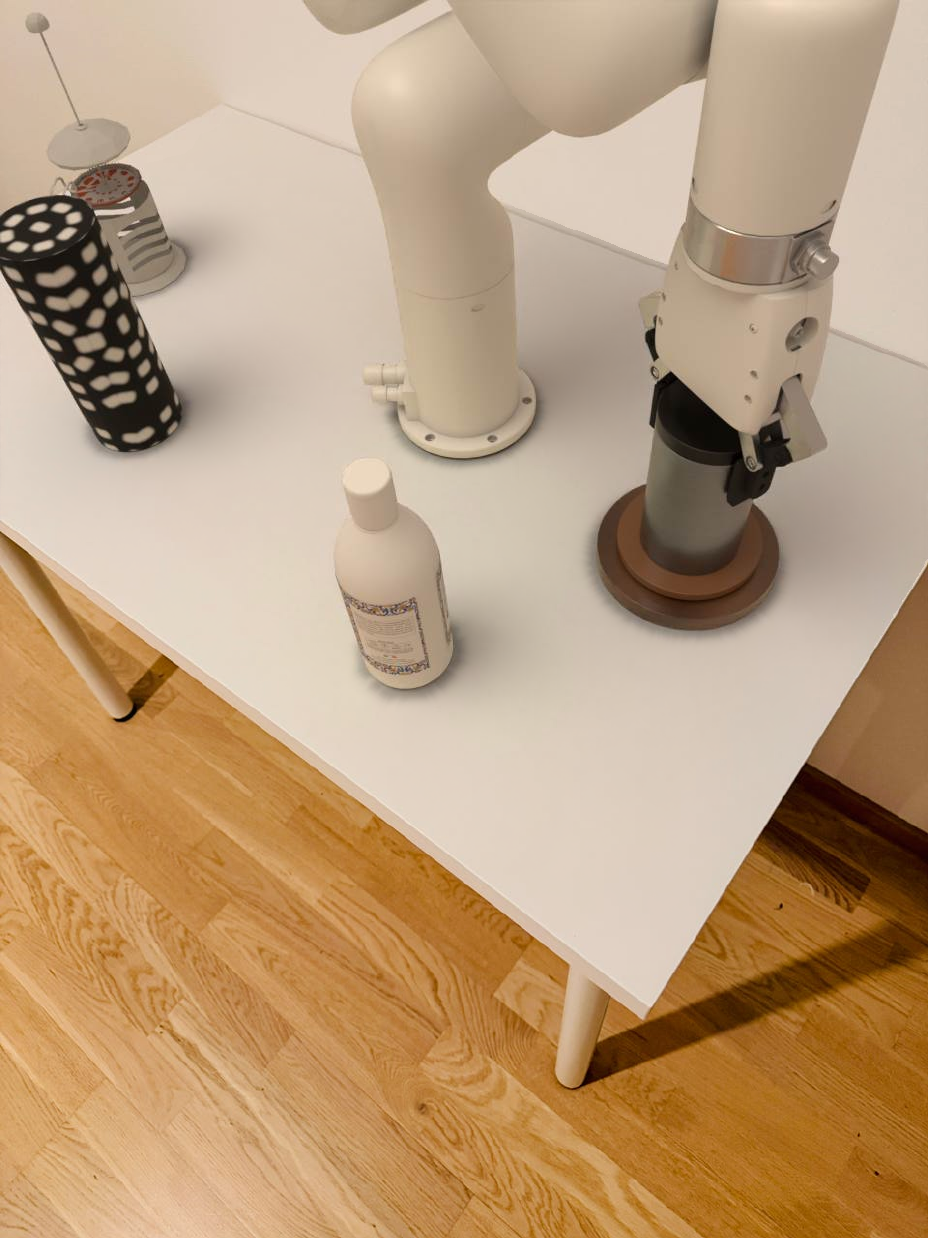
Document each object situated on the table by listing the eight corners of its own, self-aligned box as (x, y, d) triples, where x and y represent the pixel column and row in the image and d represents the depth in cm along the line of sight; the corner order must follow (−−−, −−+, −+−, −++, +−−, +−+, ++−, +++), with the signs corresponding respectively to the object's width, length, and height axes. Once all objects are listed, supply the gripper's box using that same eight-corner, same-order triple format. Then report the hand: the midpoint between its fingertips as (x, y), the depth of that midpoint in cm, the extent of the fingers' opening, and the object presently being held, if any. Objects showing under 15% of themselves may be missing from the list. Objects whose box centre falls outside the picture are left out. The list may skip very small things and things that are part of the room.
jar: (587, 535, 72) (596, 403, 60) (696, 463, 75) (725, 325, 63) (685, 626, 66) (716, 501, 55) (798, 544, 70) (850, 410, 58)
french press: (204, 254, 99) (113, -2, 78) (131, 317, 94) (12, 61, 73) (140, 230, 102) (36, -22, 81) (65, 289, 97) (-66, 37, 76)
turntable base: (594, 626, 69) (595, 615, 68) (597, 487, 77) (598, 475, 75) (783, 634, 67) (788, 623, 66) (768, 491, 75) (771, 479, 74)
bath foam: (405, 598, 72) (364, 414, 55) (472, 644, 69) (450, 464, 52) (345, 658, 69) (282, 484, 52) (412, 708, 66) (368, 541, 50)
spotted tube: (199, 401, 86) (116, 206, 69) (148, 461, 82) (47, 270, 65) (129, 379, 88) (33, 186, 72) (76, 438, 84) (-39, 247, 68)
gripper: (935, 285, 44) (837, 515, 59) (709, 130, 53) (673, 364, 68) (816, 344, 43) (746, 565, 57) (603, 174, 51) (589, 404, 66)
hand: (706, 455), depth 62 cm, fingers closed on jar, 7 cm apart
